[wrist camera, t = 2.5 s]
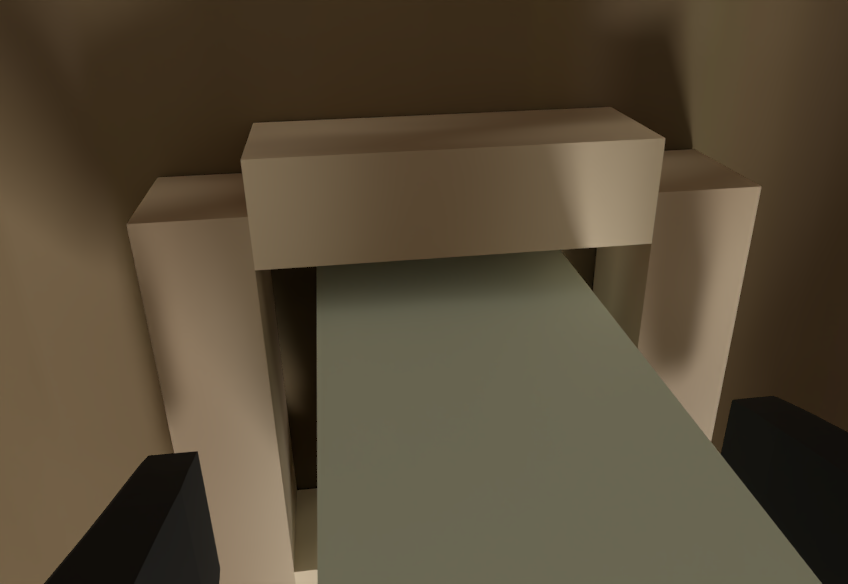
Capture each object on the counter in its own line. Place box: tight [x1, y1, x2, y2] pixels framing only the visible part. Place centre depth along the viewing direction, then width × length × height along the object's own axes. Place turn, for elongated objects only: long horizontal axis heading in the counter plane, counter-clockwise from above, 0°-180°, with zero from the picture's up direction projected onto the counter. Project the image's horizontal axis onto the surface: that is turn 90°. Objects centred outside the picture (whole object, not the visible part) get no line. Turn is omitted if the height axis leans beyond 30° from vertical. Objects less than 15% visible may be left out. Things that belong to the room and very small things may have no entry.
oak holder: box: [126, 107, 761, 584], centre depth 12 cm, size 8×8×2 cm
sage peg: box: [316, 250, 822, 584], centre depth 9 cm, size 4×4×8 cm
